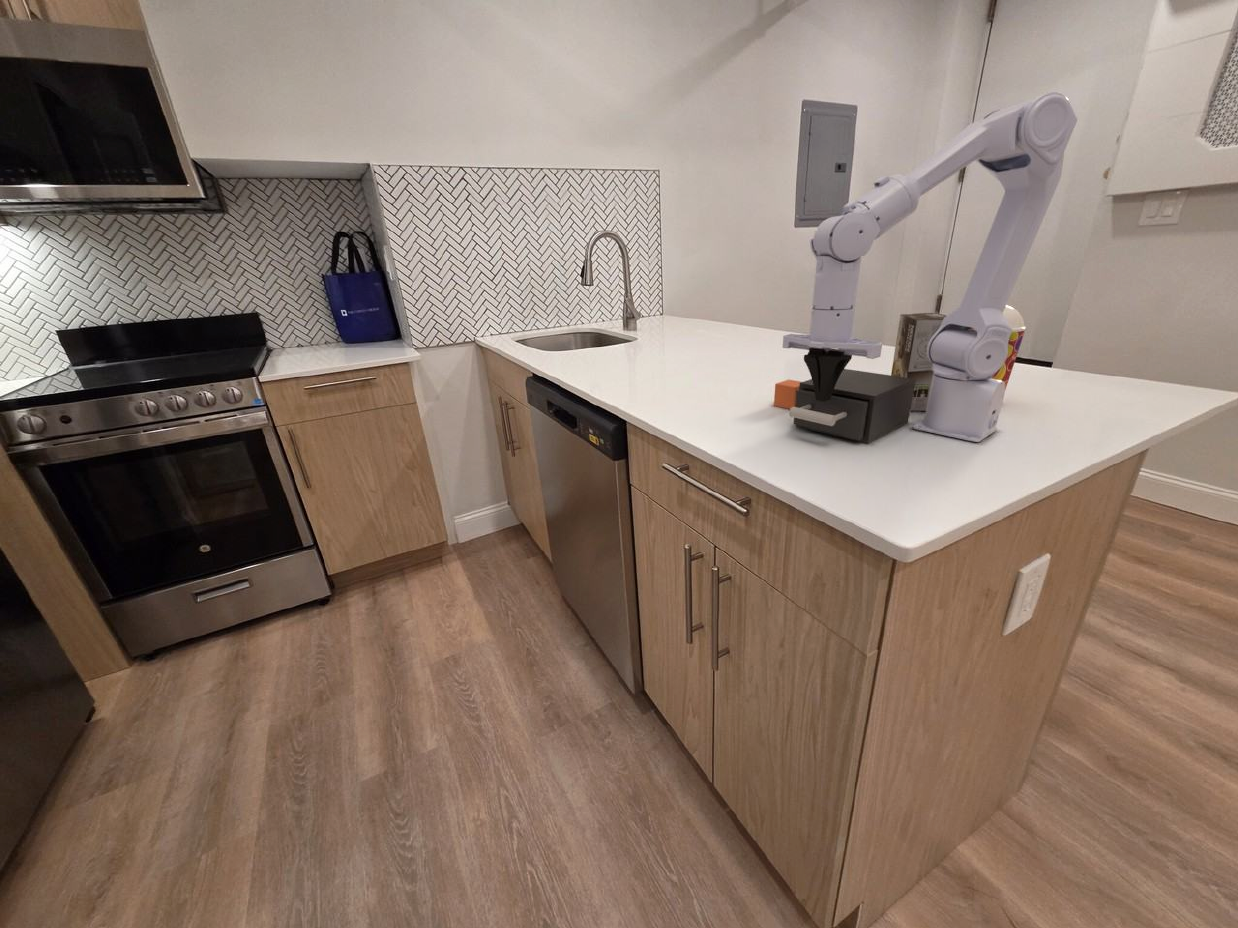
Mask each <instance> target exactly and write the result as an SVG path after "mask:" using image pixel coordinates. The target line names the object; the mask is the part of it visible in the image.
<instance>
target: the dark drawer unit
mask: <svg viewBox="0 0 1238 928" xmlns="http://www.w3.org/2000/svg"><path fill="white" fill-rule="evenodd" d="M800 382H801V383H800V385H799V387H800V388H799V390H800V389H801V390H806V391H809V390H814V386H813V381H812V378H810V379H808V380H804V381H800ZM915 382H916V379H912V378H905V377H898V376H891V374H884V373H876V372H871V371H870V372H869V371H862V370H856V369H849V368H844V370H843V371H842V373H841V375H840V377H839V378H838V381H837V383H836V385H835V387H834V390H833V393H832V394H838V395H843V396H849V397H854V398H859V399H865V400H869V405H868V412H867V419H866V425H865V432H864V435H863V439H861V440H855V439H851V438H847V437H843V436H839V435H835V434H831V433H827V432H823V431H819V430H815V429H811V428H807V427H803V426H799V425H795V426H796V427H798V428H801V429H806V430H810V431H814V432H818V433H822V434H826V435H830V436H834V437H837V438H843V439H847V440H850V441H853V442H854V441H855V442H858V443H863V444H867V445H868V444H871V443H873V442H875V441H877V440H878V439H880V438H882V437H884V436H886V435H888V434H890V433H892V432H894V431H896V430H898V429H900V428H902V427H904V426H905V425H907V424H909V421H910V416H911V415H910V414H911V411H910V410H911V404H912V399H913V393H914V388H915Z"/></svg>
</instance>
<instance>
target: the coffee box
mask: <svg viewBox="0 0 1238 928" xmlns="http://www.w3.org/2000/svg"><path fill="white" fill-rule="evenodd" d="M946 316H947V315H946V314H942V313H938V312H921V313H920V312H919V313H905V314H903V313H902V314H899V320H898V321H899V322H898V326H897V327H898V328H897V334H896V341H895V345H894V346H895V347H894V354H893V360H892V366H891V374H890V375H891V376H898V377H905V378H912V379H916V382H915V388H914V393H913V399H912V404H911V410H910V412H914V411H916V412H926V407H927V402H928V397H929V392H930V387H931V382H932V376H933V371H932V370H931V369H932V363H931V362H930V361H929V360H928V357H927V345H928V343H929V341H930V339H931V338H932V336H933V335H934V334H935V333H936V332H937V331H938V329H939V328H940V326H941V324H942V321H943V319H944V318H945V317H946Z"/></svg>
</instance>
